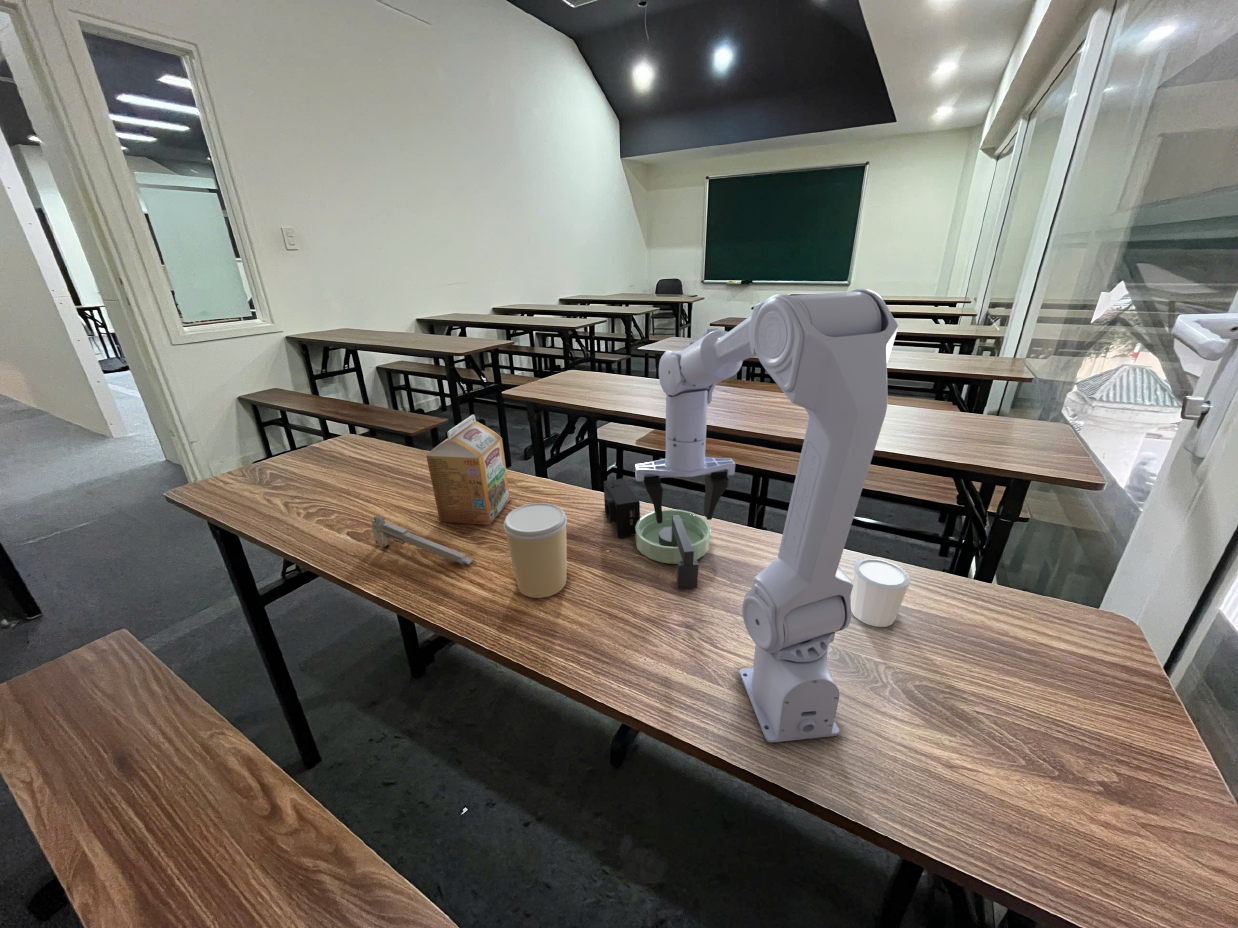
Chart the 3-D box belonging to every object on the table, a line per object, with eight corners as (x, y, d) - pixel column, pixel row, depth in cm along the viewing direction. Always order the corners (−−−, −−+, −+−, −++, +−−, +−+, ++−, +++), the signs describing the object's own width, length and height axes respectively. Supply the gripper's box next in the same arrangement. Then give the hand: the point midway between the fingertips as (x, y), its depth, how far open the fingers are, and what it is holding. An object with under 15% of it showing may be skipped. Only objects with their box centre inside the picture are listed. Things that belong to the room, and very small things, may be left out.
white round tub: (907, 633, 64) (918, 590, 61) (851, 627, 65) (860, 585, 62) (891, 599, 70) (900, 559, 67) (840, 594, 71) (848, 555, 68)
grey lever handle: (703, 587, 74) (705, 551, 71) (672, 589, 74) (673, 553, 70) (682, 532, 87) (684, 500, 84) (656, 534, 87) (657, 502, 84)
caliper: (376, 545, 87) (367, 515, 85) (380, 542, 88) (372, 512, 86) (468, 565, 81) (462, 533, 78) (472, 562, 82) (466, 530, 79)
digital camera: (598, 512, 96) (597, 481, 94) (624, 508, 98) (624, 477, 95) (611, 539, 87) (610, 505, 84) (640, 534, 88) (639, 500, 86)
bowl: (718, 562, 80) (719, 545, 78) (640, 568, 79) (640, 551, 77) (699, 523, 91) (700, 507, 90) (631, 528, 90) (631, 511, 89)
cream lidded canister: (580, 569, 79) (575, 505, 74) (558, 606, 71) (551, 536, 66) (528, 561, 81) (520, 499, 77) (501, 596, 73) (491, 528, 68)
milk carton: (489, 524, 93) (474, 432, 85) (439, 521, 95) (421, 431, 87) (510, 499, 103) (498, 414, 95) (464, 496, 104) (449, 413, 97)
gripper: (727, 423, 72) (722, 502, 78) (632, 429, 71) (633, 509, 77) (742, 439, 66) (735, 524, 71) (638, 446, 65) (639, 532, 70)
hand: (683, 518), depth 74 cm, fingers open, 7 cm apart
